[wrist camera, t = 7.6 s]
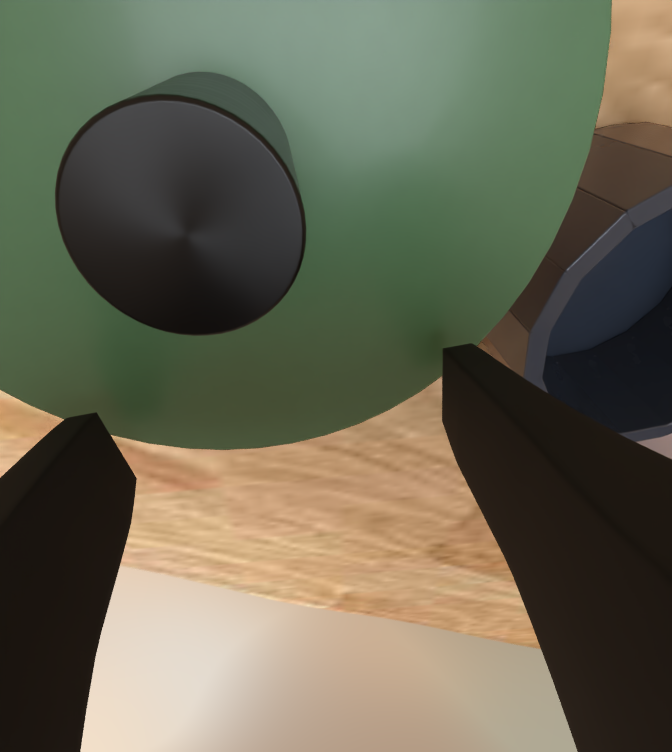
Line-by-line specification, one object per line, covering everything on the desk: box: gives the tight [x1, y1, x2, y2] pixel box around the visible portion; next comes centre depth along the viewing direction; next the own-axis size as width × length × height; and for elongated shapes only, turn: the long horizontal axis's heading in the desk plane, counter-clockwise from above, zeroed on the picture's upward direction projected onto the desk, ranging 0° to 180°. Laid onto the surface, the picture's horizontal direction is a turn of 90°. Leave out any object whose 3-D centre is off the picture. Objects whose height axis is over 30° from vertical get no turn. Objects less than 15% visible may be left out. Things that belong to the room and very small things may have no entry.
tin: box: [482, 122, 672, 442], centre depth 18 cm, size 11×11×6 cm
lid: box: [0, 0, 612, 450], centre depth 7 cm, size 13×13×4 cm
